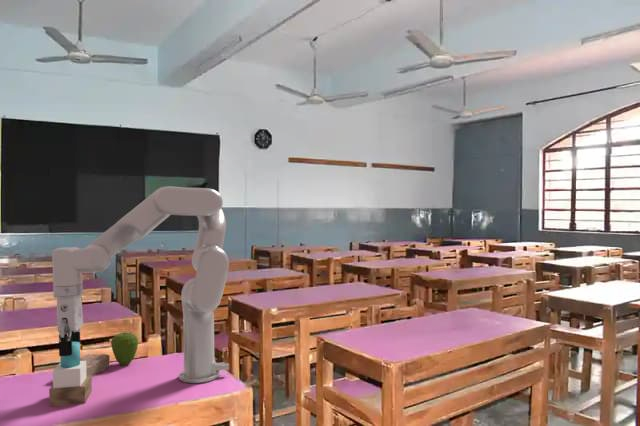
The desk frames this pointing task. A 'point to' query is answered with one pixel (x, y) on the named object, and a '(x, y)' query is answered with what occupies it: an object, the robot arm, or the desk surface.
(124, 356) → the green egg shape
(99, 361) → the brick
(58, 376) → the tower top
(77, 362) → the cylinder
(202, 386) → the desk surface
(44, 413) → the desk surface
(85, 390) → the tower base
